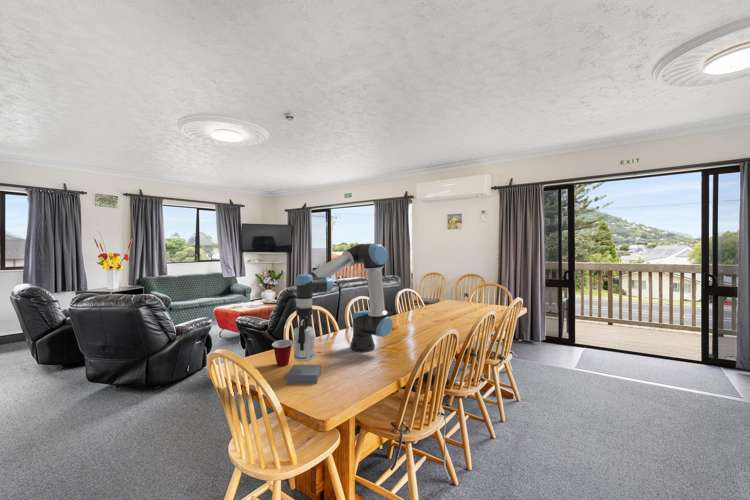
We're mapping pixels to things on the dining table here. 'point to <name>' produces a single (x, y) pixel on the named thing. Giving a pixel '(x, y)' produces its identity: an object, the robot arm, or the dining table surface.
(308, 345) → the supplement tub
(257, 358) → the dining table surface
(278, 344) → the plastic cup
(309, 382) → the plinth
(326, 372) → the dining table surface
